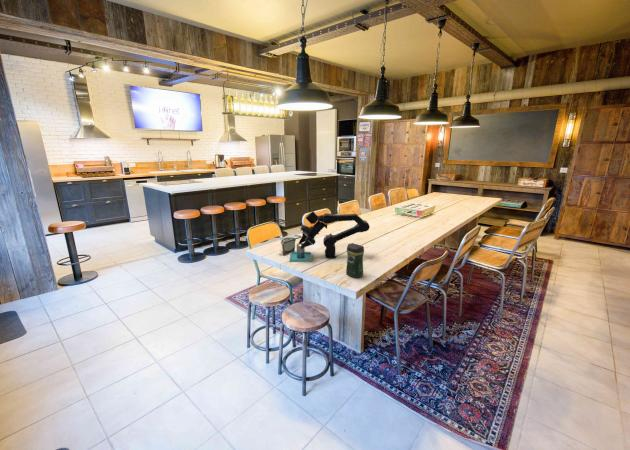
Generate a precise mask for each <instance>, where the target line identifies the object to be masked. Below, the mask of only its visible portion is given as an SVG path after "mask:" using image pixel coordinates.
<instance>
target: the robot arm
mask: <svg viewBox="0 0 630 450" xmlns="http://www.w3.org/2000/svg"><path fill="white" fill-rule="evenodd" d="M305 219H306V220H307V222H309V223H310V224H311V226H308V225H305V224H301V227H299V228H300V231H302V232H301V233H302V236H301V237H300V239H299V241H298V243H303V244H302V246H301V248H304V247H305V248H307V247H310V246H313V245H315V244H316V239H315V237H316V236H317V235H319V234H320V232H321V231H322V229H324V228H325V229H328V224H332V223H335V222H350V221H351V222H352V221H354V222H355V223H356V225H354V226H352V227H350V228H348V229H345V230H343V231H340V232H339V233H336V234H332V233H329V234H328V235H325V236H324V238H323V239H322V240H323V241H322V242H323V246H324V247H325V249H324V256H325V259H336V243H337V242H339V241H342V240H343V239H346V238H348V237H351V236H352V235H355V234H357V233H364V232H367V231H369V230H370V224H369V222H368V221H367V220H364V219H363V218H362V217H360V216H359V215H358V214H357V213H348V214H334V213H329V212H326V213H323V214H321V215H318V214H316V213H315V212H314V211H313V210H312V211H311V212H309V213H308V214H307V215H306V216H305Z"/></svg>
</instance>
